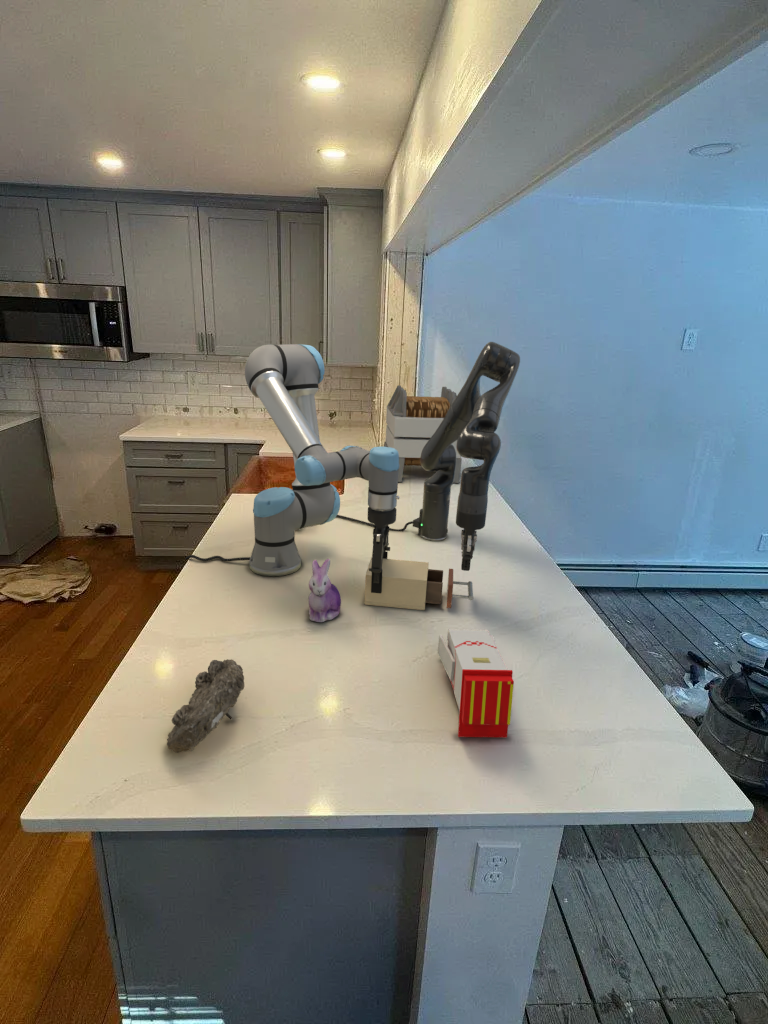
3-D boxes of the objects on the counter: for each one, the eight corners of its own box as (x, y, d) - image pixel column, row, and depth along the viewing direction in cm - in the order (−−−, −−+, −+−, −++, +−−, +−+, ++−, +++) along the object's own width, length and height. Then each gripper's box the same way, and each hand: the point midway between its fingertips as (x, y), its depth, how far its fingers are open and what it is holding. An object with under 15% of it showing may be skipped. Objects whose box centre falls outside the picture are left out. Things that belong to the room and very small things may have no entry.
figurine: (314, 627, 139) (314, 572, 134) (300, 608, 148) (299, 555, 143) (349, 619, 143) (350, 565, 138) (333, 601, 152) (334, 550, 147)
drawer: (471, 592, 158) (473, 570, 156) (472, 610, 149) (474, 587, 147) (398, 585, 160) (399, 564, 158) (395, 603, 151) (396, 580, 149)
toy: (488, 613, 130) (523, 677, 101) (484, 667, 133) (517, 744, 104) (435, 612, 130) (455, 676, 101) (432, 666, 133) (451, 743, 103)
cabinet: (426, 590, 160) (428, 562, 157) (424, 610, 150) (426, 580, 147) (370, 585, 162) (371, 557, 159) (364, 604, 151) (365, 574, 148)
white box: (382, 463, 289) (386, 382, 275) (445, 464, 293) (451, 384, 279) (390, 482, 257) (394, 392, 243) (460, 483, 261) (468, 394, 247)
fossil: (192, 660, 117) (244, 628, 112) (224, 691, 120) (276, 661, 115) (142, 746, 98) (202, 712, 93) (182, 779, 101) (242, 748, 96)
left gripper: (391, 523, 136) (387, 604, 144) (400, 494, 158) (396, 565, 166) (360, 521, 137) (358, 601, 144) (374, 492, 159) (371, 563, 166)
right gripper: (488, 518, 138) (480, 582, 144) (485, 501, 150) (478, 560, 156) (457, 515, 139) (450, 579, 145) (457, 498, 151) (451, 557, 157)
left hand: (379, 582), depth 155 cm, fingers closed on cabinet, 11 cm apart
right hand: (465, 569), depth 151 cm, fingers closed
